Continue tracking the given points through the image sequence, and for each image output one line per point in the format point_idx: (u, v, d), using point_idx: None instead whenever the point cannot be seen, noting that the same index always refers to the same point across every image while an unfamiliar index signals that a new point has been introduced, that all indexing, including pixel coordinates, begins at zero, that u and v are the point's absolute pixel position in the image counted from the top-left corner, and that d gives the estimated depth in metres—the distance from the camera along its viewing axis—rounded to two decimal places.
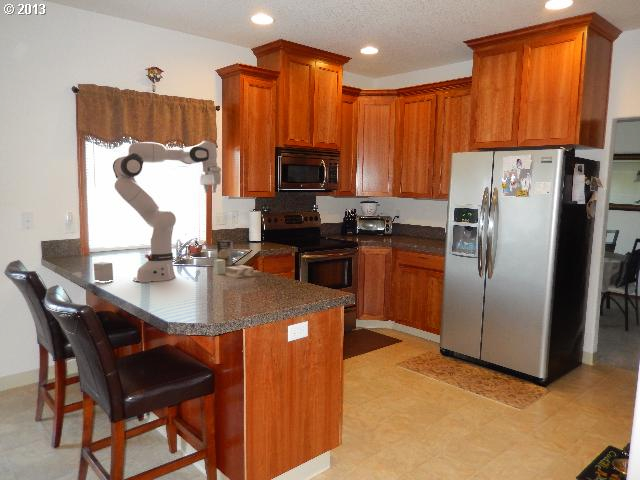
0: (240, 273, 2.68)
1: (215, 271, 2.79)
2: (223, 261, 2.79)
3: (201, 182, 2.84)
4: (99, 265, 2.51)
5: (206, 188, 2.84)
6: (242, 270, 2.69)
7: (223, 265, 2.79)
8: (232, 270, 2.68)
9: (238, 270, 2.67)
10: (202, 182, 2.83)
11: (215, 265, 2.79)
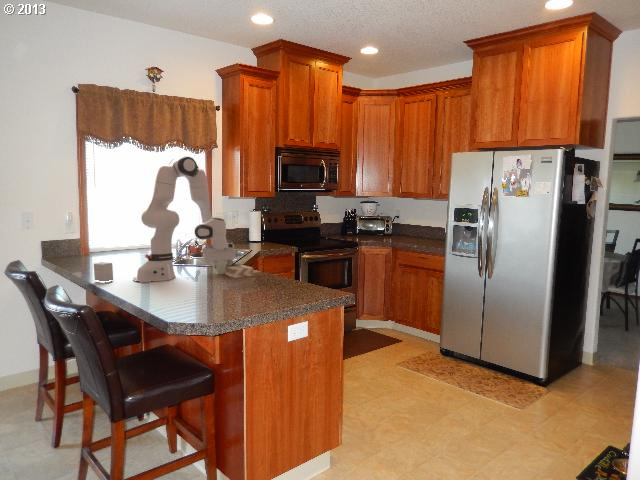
0: (240, 273, 2.68)
1: (215, 271, 2.79)
2: (223, 261, 2.79)
3: (208, 259, 2.74)
4: (99, 265, 2.51)
5: None
6: (241, 270, 2.68)
7: (223, 265, 2.79)
8: (232, 270, 2.68)
9: (237, 270, 2.67)
10: (210, 259, 2.74)
11: (215, 265, 2.79)
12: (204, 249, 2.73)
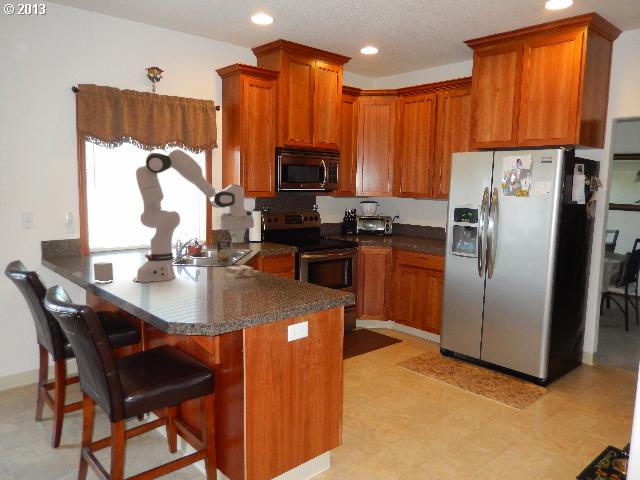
0: (239, 273, 2.68)
1: (233, 240, 2.71)
2: (241, 229, 2.71)
3: (226, 227, 2.65)
4: (99, 265, 2.51)
5: None
6: (241, 270, 2.68)
7: (241, 233, 2.71)
8: (231, 270, 2.68)
9: (237, 270, 2.67)
10: (228, 227, 2.66)
11: (233, 233, 2.71)
12: (222, 216, 2.65)
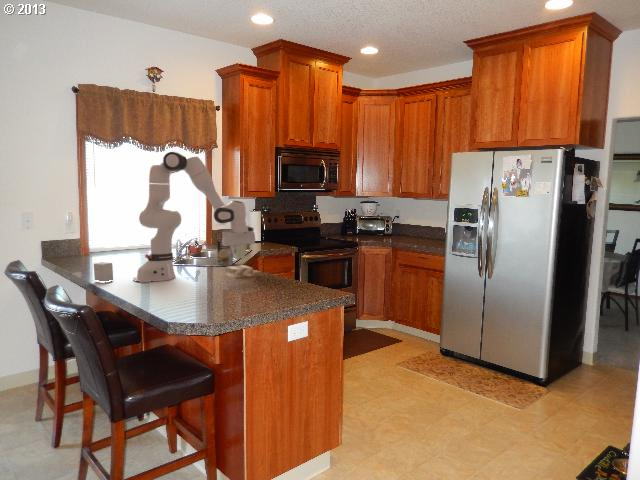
0: (239, 273, 2.68)
1: (234, 255, 2.72)
2: (243, 245, 2.72)
3: (228, 243, 2.66)
4: (99, 265, 2.51)
5: None
6: (241, 270, 2.68)
7: (243, 249, 2.72)
8: (231, 270, 2.68)
9: (236, 270, 2.67)
10: (230, 243, 2.67)
11: (234, 249, 2.72)
12: (224, 233, 2.65)
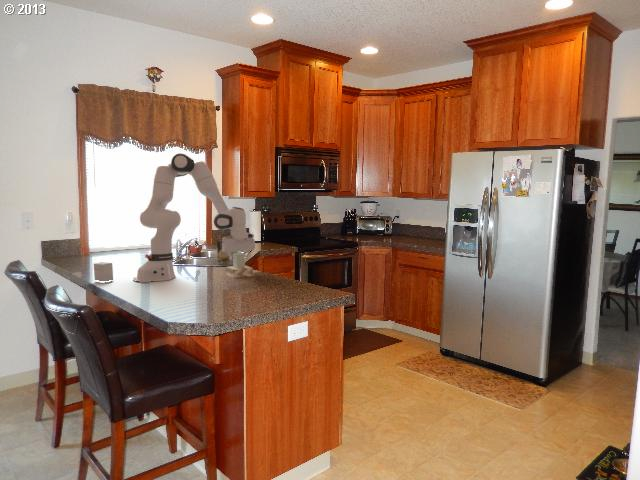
0: (239, 273, 2.68)
1: (234, 265, 2.73)
2: (242, 255, 2.72)
3: (228, 250, 2.67)
4: (99, 265, 2.51)
5: None
6: (240, 270, 2.68)
7: (242, 259, 2.72)
8: (231, 270, 2.69)
9: (236, 270, 2.67)
10: (230, 250, 2.67)
11: (234, 259, 2.72)
12: (224, 239, 2.66)
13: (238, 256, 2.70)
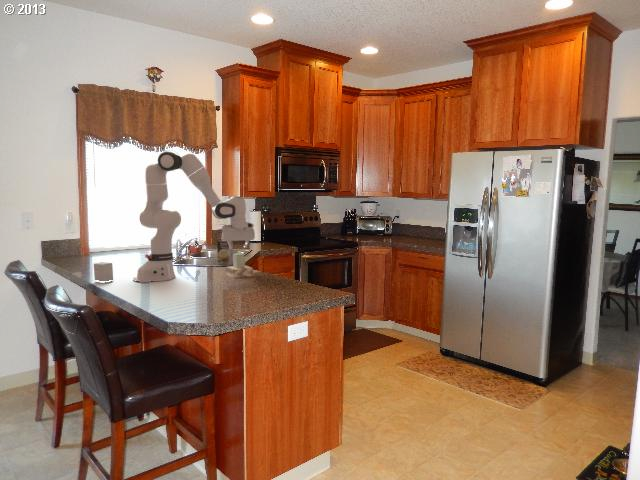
0: (239, 273, 2.68)
1: (234, 265, 2.73)
2: (242, 255, 2.72)
3: (227, 238, 2.66)
4: (99, 265, 2.51)
5: None
6: (241, 270, 2.68)
7: (242, 259, 2.72)
8: (231, 270, 2.68)
9: (236, 270, 2.67)
10: (229, 238, 2.67)
11: (234, 259, 2.72)
12: (223, 228, 2.65)
13: (238, 256, 2.70)
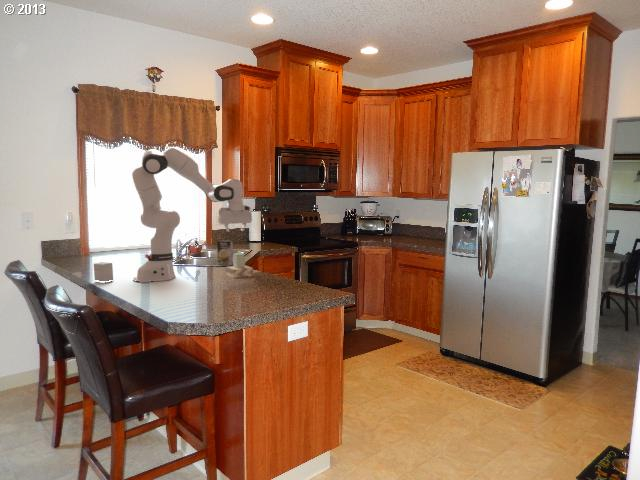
0: (239, 273, 2.68)
1: (234, 265, 2.73)
2: (242, 255, 2.72)
3: (224, 221, 2.67)
4: (99, 265, 2.51)
5: None
6: (241, 270, 2.68)
7: (242, 259, 2.72)
8: (231, 270, 2.68)
9: (236, 270, 2.67)
10: (226, 221, 2.67)
11: (234, 259, 2.72)
12: (220, 210, 2.66)
13: (238, 256, 2.71)
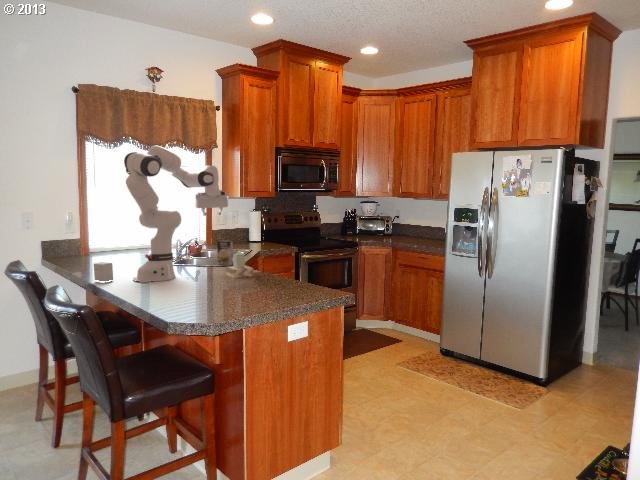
0: (239, 273, 2.68)
1: (234, 265, 2.72)
2: (242, 255, 2.72)
3: (201, 205, 2.81)
4: (99, 265, 2.51)
5: None
6: (241, 270, 2.68)
7: (242, 259, 2.72)
8: (231, 270, 2.68)
9: (237, 270, 2.67)
10: (203, 205, 2.81)
11: (234, 259, 2.72)
12: (197, 195, 2.80)
13: (238, 256, 2.70)
